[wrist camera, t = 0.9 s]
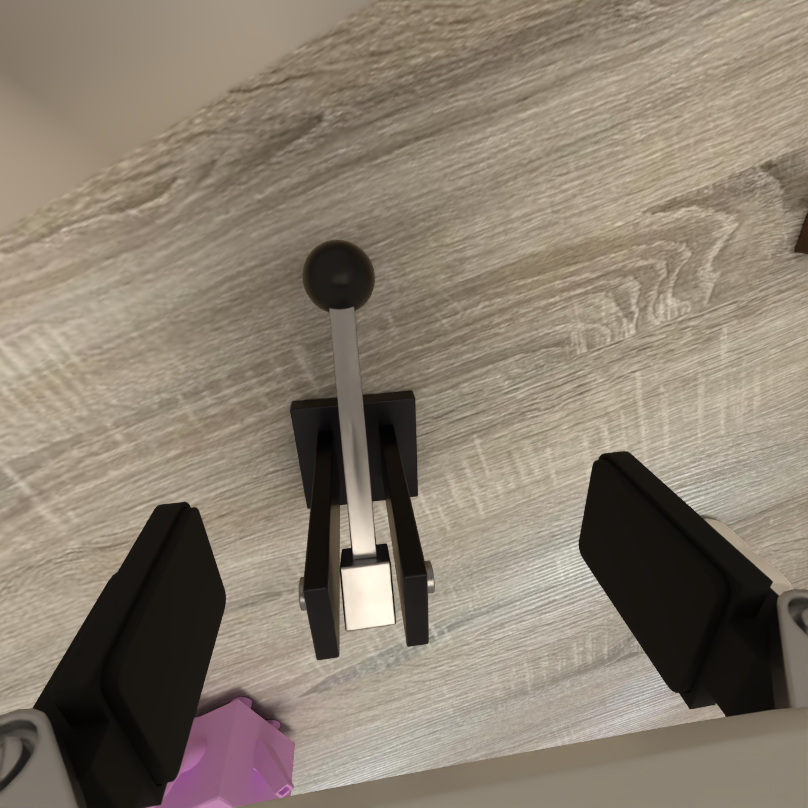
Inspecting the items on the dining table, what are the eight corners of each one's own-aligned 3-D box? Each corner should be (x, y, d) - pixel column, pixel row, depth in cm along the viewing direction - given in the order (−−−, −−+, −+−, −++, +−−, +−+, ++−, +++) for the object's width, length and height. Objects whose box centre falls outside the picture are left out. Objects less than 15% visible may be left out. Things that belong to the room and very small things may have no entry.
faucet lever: (304, 255, 21) (294, 230, 18) (370, 251, 21) (372, 226, 18) (337, 603, 21) (333, 639, 18) (401, 594, 22) (408, 628, 18)
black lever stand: (291, 401, 28) (254, 562, 16) (412, 390, 29) (465, 535, 17) (308, 498, 32) (288, 691, 20) (415, 486, 33) (460, 664, 20)
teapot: (345, 735, 46) (346, 863, 37) (239, 781, 47) (216, 915, 38) (242, 646, 38) (213, 782, 29) (118, 704, 39) (54, 851, 30)
